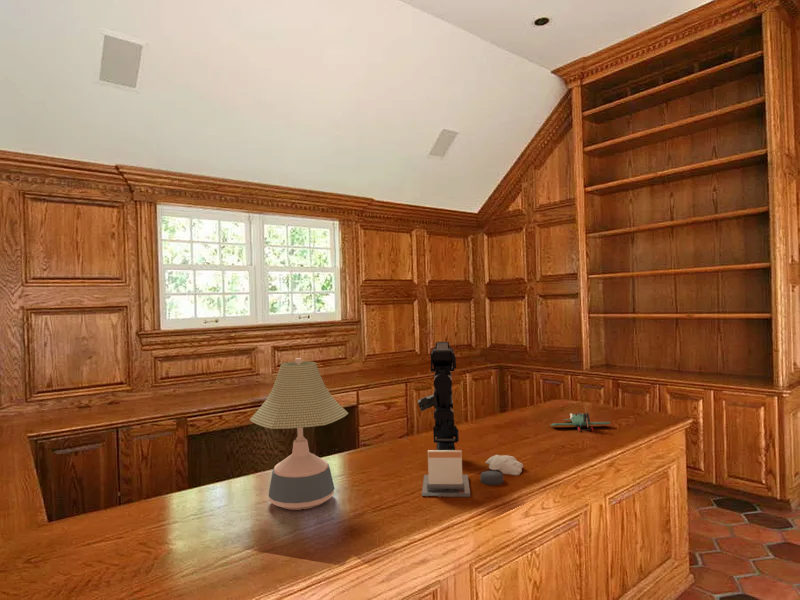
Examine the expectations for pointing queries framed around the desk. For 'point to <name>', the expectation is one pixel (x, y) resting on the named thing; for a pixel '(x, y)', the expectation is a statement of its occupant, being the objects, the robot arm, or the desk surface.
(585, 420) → the toy airplane
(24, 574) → the desk surface
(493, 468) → the decorative stone
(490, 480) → the grey river pebble
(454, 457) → the bowl
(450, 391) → the robot arm
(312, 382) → the desk lamp
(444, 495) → the grey flat slab
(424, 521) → the desk surface
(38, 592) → the desk surface
